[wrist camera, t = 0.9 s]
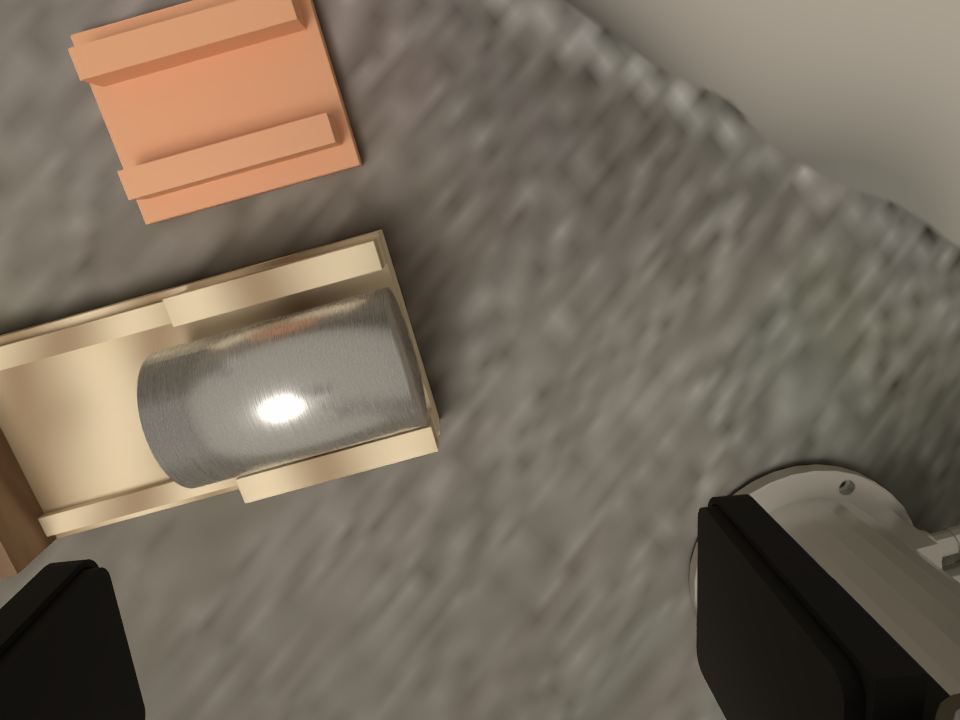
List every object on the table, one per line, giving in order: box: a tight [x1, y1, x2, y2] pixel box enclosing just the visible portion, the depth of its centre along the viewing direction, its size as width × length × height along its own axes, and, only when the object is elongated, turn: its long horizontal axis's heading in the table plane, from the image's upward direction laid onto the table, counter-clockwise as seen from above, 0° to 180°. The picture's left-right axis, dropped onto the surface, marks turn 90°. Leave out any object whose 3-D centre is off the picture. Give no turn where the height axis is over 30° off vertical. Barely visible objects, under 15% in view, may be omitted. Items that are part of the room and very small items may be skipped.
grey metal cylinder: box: [137, 287, 428, 489], centre depth 27 cm, size 10×6×6 cm, turn 105°
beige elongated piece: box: [0, 229, 440, 579], centre depth 30 cm, size 21×10×5 cm, turn 105°
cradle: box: [68, 0, 362, 224], centre depth 27 cm, size 10×8×3 cm
